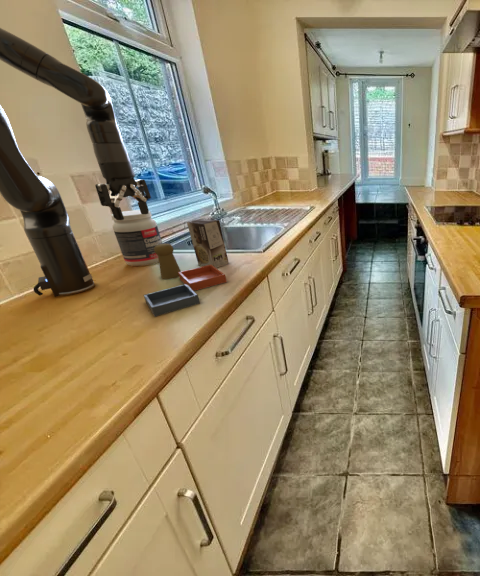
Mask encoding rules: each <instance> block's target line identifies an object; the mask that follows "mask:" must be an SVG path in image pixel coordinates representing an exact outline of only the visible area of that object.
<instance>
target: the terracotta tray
mask: <svg viewBox="0 0 480 576" xmlns="http://www.w3.org/2000/svg"><path fill="white" fill-rule="evenodd" d="M178 274H179V277H178V278H179V280H180V281H181V282H182V283H183V285H184V284H187V285H188V286H189V287H190V288H191V289H192V290H193V291H194V292H195V291H198V290H202V289H206V288H210V287H213V286H217V285H221V284H224V283H227V282H228V281H227V277H226V274H225V273H224V272H223V271H221V270H220V269H218V268H215V267H214V266H213V265H207V266H199V267H195V268H189V269H186V270H181V272H178Z"/></svg>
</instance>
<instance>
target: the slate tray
mask: <svg viewBox="0 0 480 576" xmlns="http://www.w3.org/2000/svg"><path fill="white" fill-rule="evenodd" d="M143 298H144V301H145V303H146V305H147V307H148V308H149V310H150V312H151V313H152V315H153V316H154V317H159V316H161V315H162V316H163V315H166V314H169V313H172V312H176V311H178V310H183V309H185V308H189V307H193V306H196V305H199V304H200V303H201V301H200V298H199V294H197V293H196V292H195V291H193V290H192V289H191V288H190V287H189V286H188V285H187V284H184V283H183V284H181V285H177V286H173V287H169V288H165V289H161V290H158V291H153V292H150V293H146V294H143Z"/></svg>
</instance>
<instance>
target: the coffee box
mask: <svg viewBox="0 0 480 576" xmlns="http://www.w3.org/2000/svg"><path fill="white" fill-rule="evenodd" d="M186 224H187V229H188V232H189V235H190V240H191V243H192V247H193V250H194V253H195V257H196V261H197V265H198V266H199V267H202V266H207V265H213V266H214V267H215V268H217V269H218V268H220V267H224V266H226V265H228V264H230V262H229V258H228V254H227V249H226V244H225V240H224V235H223V231H222V225H221V222H220V220H219V219H212V218H211V219H210V218H198V219H194V220H190V221H187V222H186Z"/></svg>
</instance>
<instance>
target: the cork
mask: <svg viewBox="0 0 480 576" xmlns="http://www.w3.org/2000/svg"><path fill="white" fill-rule="evenodd" d="M154 251H155V253H156V254H157V255H158V259H159V262H158V266H159V271H160V279H162V280H171V279H172V280H173V279H177V278H179V274H178V272H181V271H182V270H181V267H180V266H179V264H178V262H177V259H176V257H175V255H174V247H173V245H172V244H171V243H168V242H167V243H162V244H159V245H156V246H155V247H154Z"/></svg>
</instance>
